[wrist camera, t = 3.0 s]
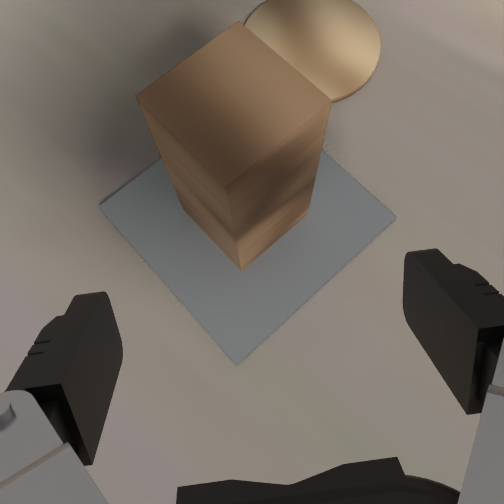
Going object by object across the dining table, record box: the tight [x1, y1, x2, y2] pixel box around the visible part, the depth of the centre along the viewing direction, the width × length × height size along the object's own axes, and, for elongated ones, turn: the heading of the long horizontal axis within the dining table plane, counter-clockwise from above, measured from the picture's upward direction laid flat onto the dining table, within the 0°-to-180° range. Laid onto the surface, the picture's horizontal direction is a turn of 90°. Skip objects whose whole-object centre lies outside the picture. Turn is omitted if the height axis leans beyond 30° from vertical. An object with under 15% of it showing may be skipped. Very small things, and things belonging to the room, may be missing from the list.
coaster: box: [245, 0, 381, 103], centre depth 30 cm, size 9×9×1 cm
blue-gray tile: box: [98, 150, 397, 366], centre depth 26 cm, size 12×12×1 cm
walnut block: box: [136, 21, 332, 271], centre depth 21 cm, size 5×5×10 cm
